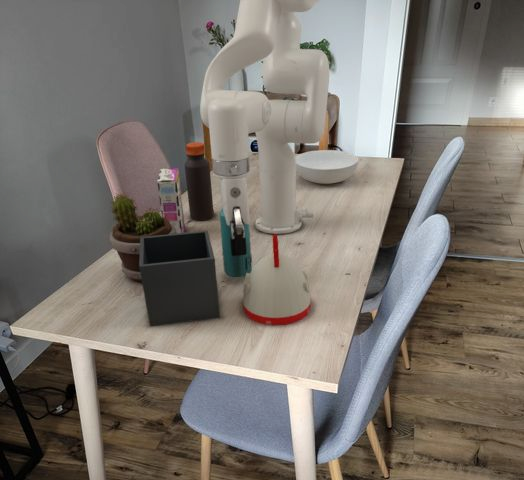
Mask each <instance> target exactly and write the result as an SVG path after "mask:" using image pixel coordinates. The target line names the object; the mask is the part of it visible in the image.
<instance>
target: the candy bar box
mask: <svg viewBox="0 0 524 480" xmlns="http://www.w3.org/2000/svg"><path fill="white" fill-rule="evenodd" d="M156 181H157V182H156V183H157V189H158V197H159V204H160V214H161V217H166V218H167V219H168V220H169V222H170V224H172V225H173V226H174V227H175V229H176V234H177V233H185V229H186V227H185V218H184V208H183V198H182V187H181V180H180V170H179V167H174V168H172V167H171V168H160V169H159V174H158V177H157V180H156Z"/></svg>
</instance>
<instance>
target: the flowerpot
mask: <svg viewBox="0 0 524 480" xmlns="http://www.w3.org/2000/svg"><path fill="white" fill-rule="evenodd" d="M117 191H118V192H115V195H114V196H113V198H112V201H111V202H110V205H111V208H109V210H110V213H111V214H112V215H113V216H112V219H113V221H116V222H117V223H115V226H113V227H112V230H111V232H110V234H109V242H108V244H109V245H110V246H111V248H112V249H113V250H115V251H116V252H117V254H118V257H119V259H120V261H121V264H120V265H121V271H122V273H124V274H125V276H126V277H128V279H130V280H131V281H133V282H135V283H140V284H142V279H141V274H140V268H139V259H140V237H147V236H157V235H167V234H176V229H175V227H174V226H173V225H172V224H170V222H169V220H168V219H167V218H166V217H162V214H161V212H160V211H159V210H158V208H153V209H152V208H151V207H148V206H147V209H148V210H145V212H144V213H142V215H139V212H137V211H139V209H138V208H139V207H140V205H137V204H135V202H136V200H135V199H136V198H134V199H133V197H132V196H130V197H129V194H127V192H126V191H125V192H123V193H121V191H120V189H117Z"/></svg>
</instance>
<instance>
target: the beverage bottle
mask: <svg viewBox="0 0 524 480" xmlns="http://www.w3.org/2000/svg"><path fill="white" fill-rule="evenodd" d="M235 193H236V192H235ZM233 214H234V213H233ZM218 216H219V224H220V234H221V235H220V237H221V251H222V262H223V265H222V266H223V273H225V276H227V277H229V278H232V279H233V278H234V279H240V278H241V279H242V278H245V277H246V273H249V274H250V273H251V271H252V269H253V265H252V263H253V259H252V258H253V257H252V255H253V254H252V247H251V243H252V242H251V232H250V224H249V225H247V224H245V223H244V221H243V223H244V231H245V237H246V252H247V253H246V255H240V256H232V254H231V242H230V238H232V237H231V229H230V226H228V225H227V223H226V220H225V215H224V212H223V208H222V207H221V209H220V210H219V213H218ZM232 223H235V221H232ZM233 229H236V227H233Z"/></svg>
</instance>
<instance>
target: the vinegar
mask: <svg viewBox="0 0 524 480" xmlns="http://www.w3.org/2000/svg"><path fill="white" fill-rule="evenodd" d="M205 149H206V148H205V143H203V142H199V141H198V142H197V141H196V142H194V141H193V142H189V143H186V145H185V151H186V156H187V157H188V159H187V160H186V161H185V163H184V173H185V183H186V191H187V200H188V208H189V217H190V219H192V220H194V221H197V222H199V221H200V222H201V221H207V220H211V219H212V218H213V217H214V216H215V213H214V201H213V200H214V199H213V190H212V178H211V177H212V176H211V167H210V162H209V161H208V160H207V159H206V158H205V155H206V150H205Z"/></svg>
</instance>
